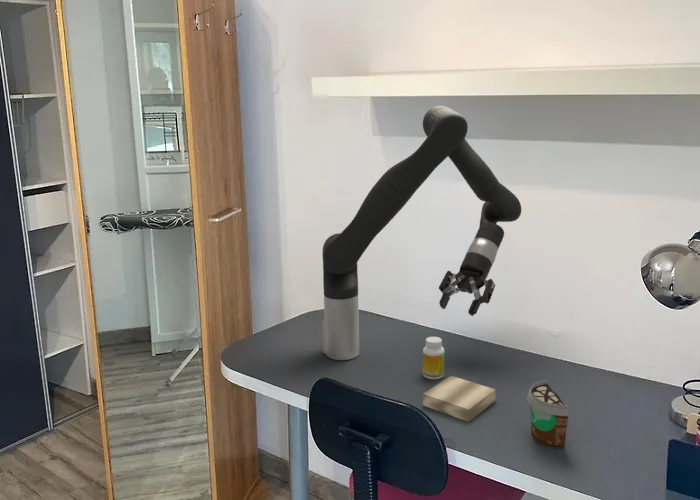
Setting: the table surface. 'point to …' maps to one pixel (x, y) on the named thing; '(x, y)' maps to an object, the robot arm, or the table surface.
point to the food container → (547, 415)
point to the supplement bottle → (433, 358)
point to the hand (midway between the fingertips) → (456, 310)
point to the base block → (459, 398)
